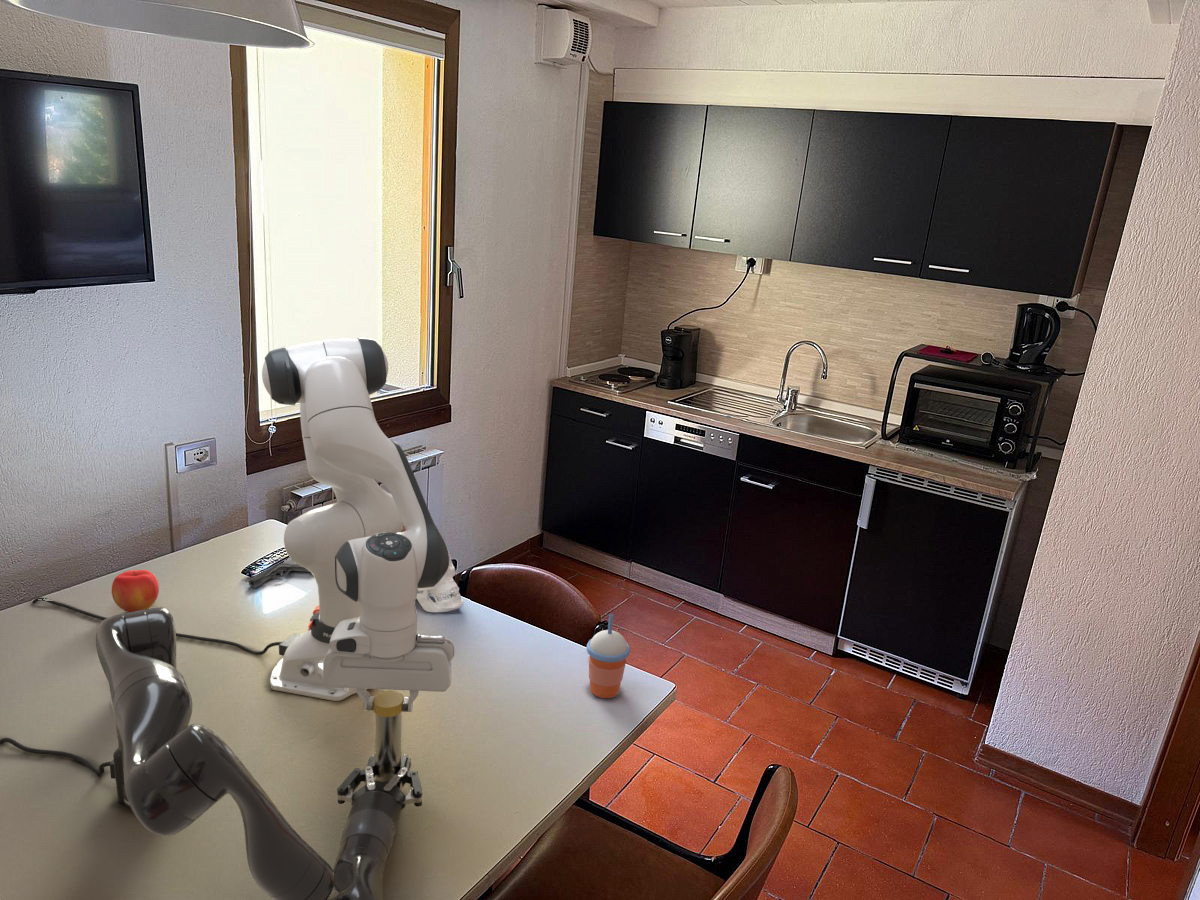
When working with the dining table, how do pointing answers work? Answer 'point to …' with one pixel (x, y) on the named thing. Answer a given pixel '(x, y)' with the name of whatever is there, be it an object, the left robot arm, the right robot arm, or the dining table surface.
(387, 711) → the lid
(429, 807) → the dining table surface
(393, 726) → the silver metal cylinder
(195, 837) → the dining table surface
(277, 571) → the handgun
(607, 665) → the cup with straw
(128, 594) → the apple
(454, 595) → the skull
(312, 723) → the dining table surface
